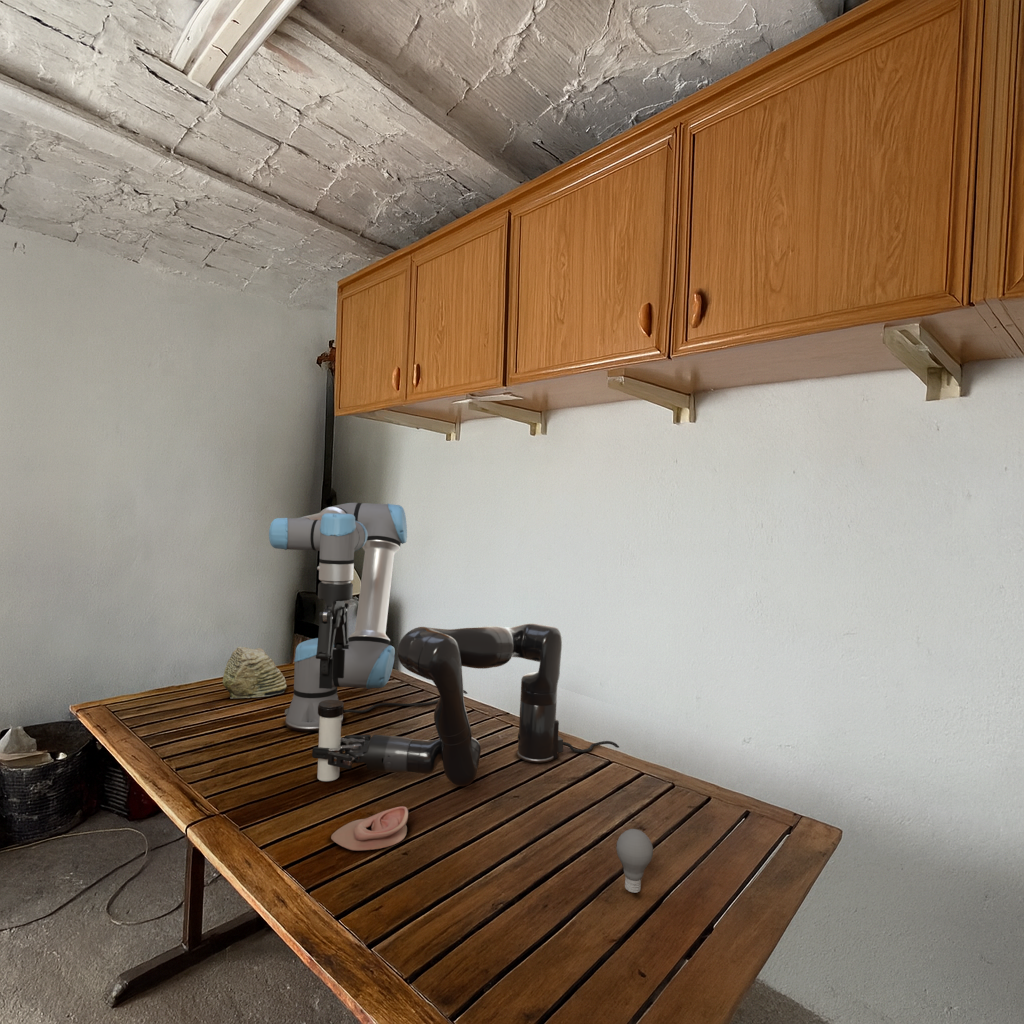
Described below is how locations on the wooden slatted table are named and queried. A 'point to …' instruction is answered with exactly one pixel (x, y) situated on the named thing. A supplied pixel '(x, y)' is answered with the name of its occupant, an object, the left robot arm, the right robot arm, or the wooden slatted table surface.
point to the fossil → (252, 674)
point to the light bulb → (634, 857)
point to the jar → (329, 746)
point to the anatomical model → (374, 830)
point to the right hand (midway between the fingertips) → (318, 747)
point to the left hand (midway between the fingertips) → (331, 682)
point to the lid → (331, 708)
